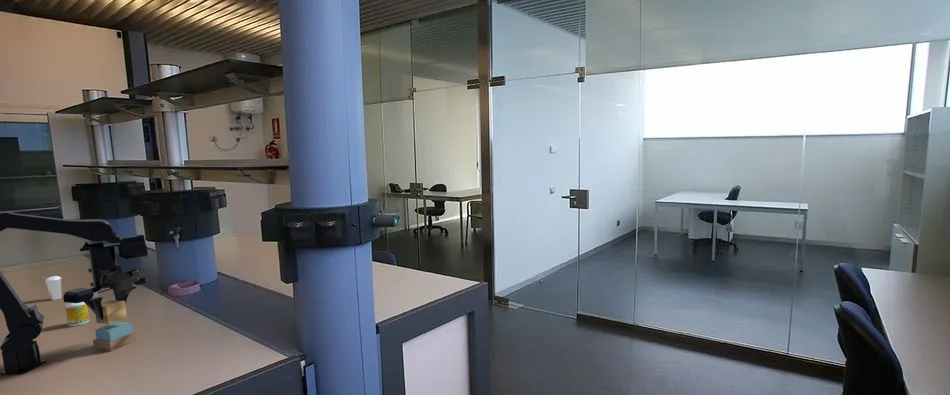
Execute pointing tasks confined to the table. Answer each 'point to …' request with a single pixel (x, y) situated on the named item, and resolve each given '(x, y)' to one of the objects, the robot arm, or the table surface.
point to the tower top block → (113, 331)
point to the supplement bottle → (77, 313)
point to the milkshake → (54, 287)
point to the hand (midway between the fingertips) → (111, 316)
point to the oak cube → (112, 312)
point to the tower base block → (114, 343)
